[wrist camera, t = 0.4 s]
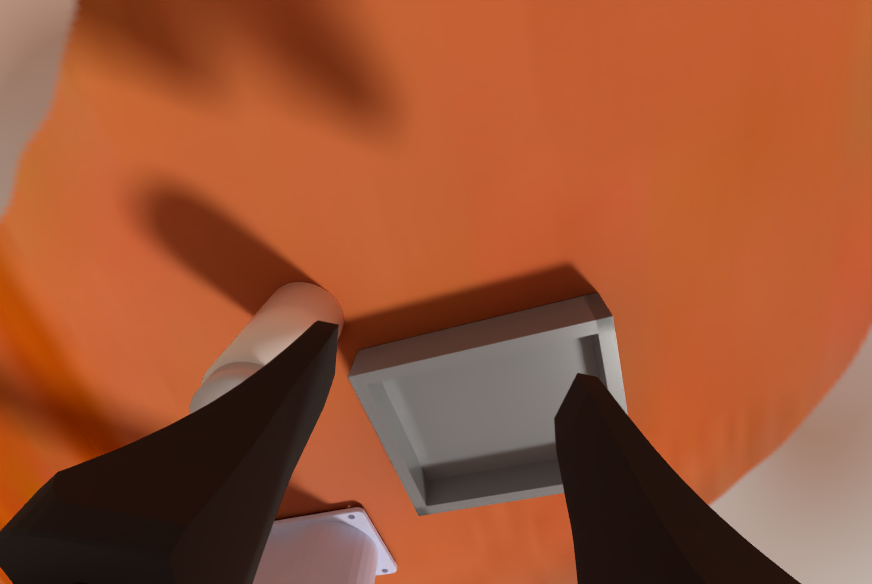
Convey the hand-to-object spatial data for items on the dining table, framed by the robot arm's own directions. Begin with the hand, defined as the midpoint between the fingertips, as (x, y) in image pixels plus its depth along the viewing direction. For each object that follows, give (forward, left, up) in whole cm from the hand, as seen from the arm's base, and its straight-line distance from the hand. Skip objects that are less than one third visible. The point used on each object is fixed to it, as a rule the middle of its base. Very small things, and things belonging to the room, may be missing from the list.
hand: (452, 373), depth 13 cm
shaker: (-9, -2, -10) cm, 14 cm away
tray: (0, -11, -10) cm, 15 cm away
